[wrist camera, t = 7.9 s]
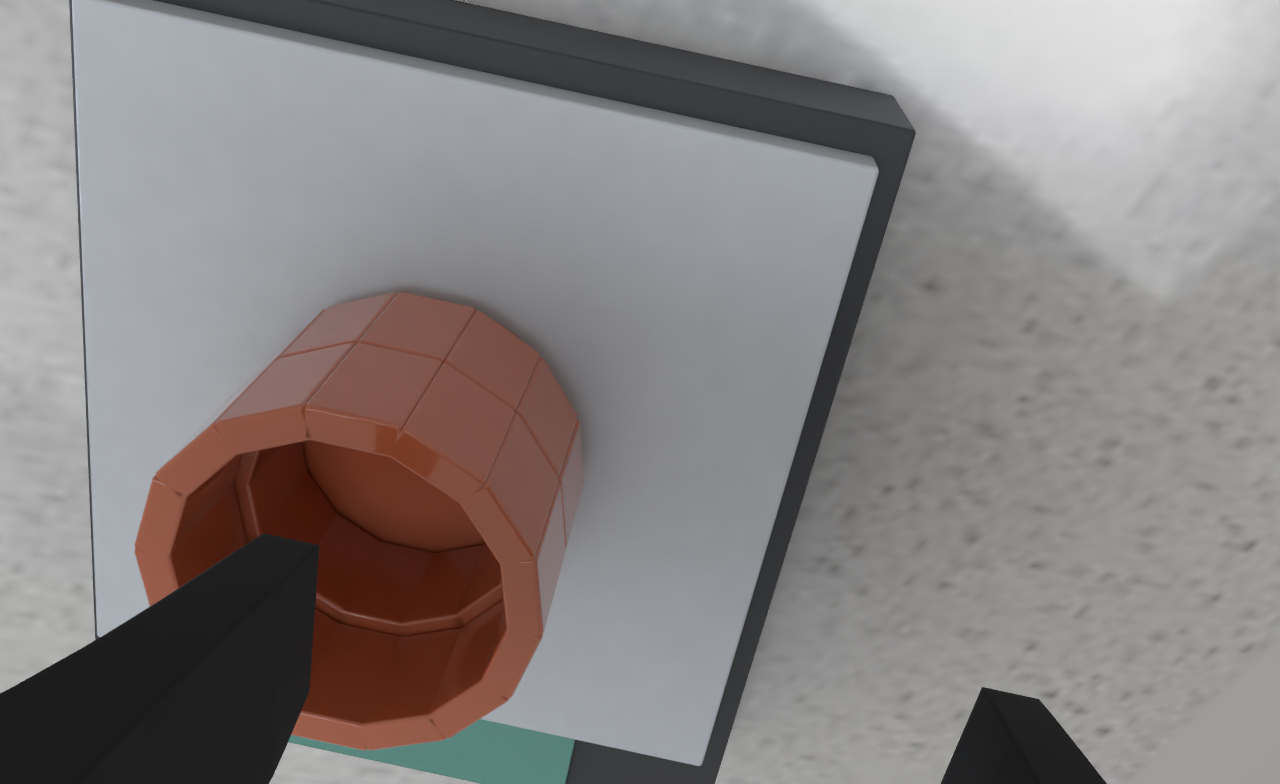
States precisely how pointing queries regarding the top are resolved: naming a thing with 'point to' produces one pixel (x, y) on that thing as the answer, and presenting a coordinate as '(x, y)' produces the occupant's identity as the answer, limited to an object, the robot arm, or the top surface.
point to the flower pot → (389, 508)
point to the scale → (496, 304)
